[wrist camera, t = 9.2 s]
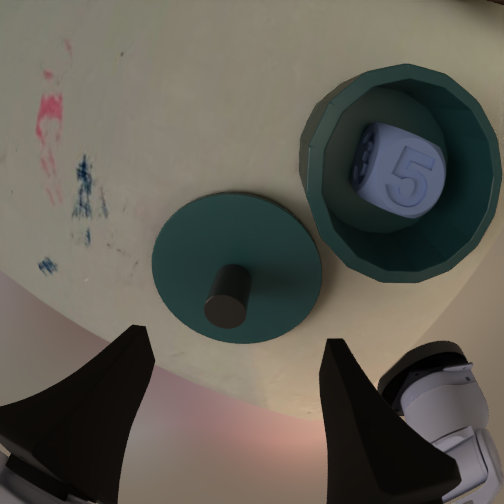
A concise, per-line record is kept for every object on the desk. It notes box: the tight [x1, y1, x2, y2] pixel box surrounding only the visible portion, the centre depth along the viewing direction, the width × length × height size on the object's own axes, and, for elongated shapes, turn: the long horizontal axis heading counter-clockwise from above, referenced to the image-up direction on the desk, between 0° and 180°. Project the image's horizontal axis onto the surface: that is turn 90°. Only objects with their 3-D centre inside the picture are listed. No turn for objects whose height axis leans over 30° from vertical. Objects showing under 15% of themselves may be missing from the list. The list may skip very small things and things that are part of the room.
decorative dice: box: [351, 122, 446, 218], centre depth 14 cm, size 4×4×4 cm
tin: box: [299, 64, 502, 283], centre depth 14 cm, size 10×10×5 cm
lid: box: [152, 192, 322, 344], centre depth 18 cm, size 11×11×5 cm
